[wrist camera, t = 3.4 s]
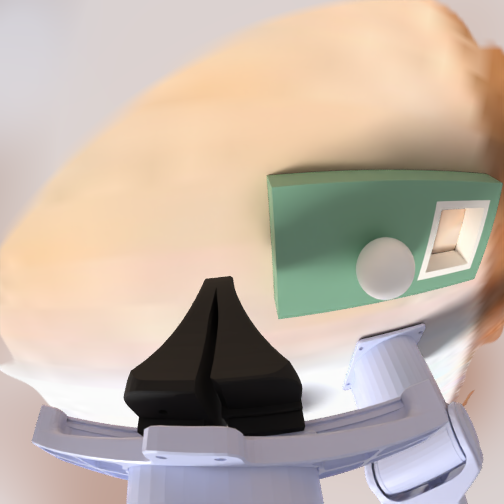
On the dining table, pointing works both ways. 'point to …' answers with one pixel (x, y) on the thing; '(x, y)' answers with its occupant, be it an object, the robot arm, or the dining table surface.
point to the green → (370, 231)
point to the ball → (385, 268)
